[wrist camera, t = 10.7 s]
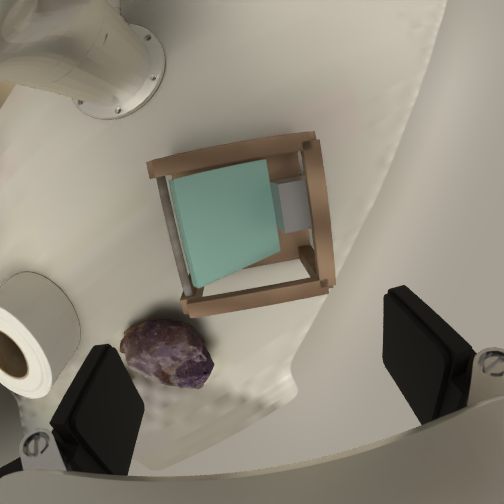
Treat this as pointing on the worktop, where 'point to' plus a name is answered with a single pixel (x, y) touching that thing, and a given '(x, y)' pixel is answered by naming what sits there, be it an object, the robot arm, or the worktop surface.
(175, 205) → the trapdoor
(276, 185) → the gray cube
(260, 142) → the frame
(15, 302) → the toilet paper roll
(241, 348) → the worktop surface
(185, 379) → the rock
